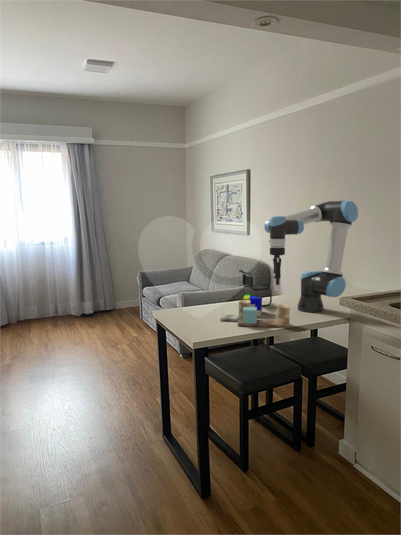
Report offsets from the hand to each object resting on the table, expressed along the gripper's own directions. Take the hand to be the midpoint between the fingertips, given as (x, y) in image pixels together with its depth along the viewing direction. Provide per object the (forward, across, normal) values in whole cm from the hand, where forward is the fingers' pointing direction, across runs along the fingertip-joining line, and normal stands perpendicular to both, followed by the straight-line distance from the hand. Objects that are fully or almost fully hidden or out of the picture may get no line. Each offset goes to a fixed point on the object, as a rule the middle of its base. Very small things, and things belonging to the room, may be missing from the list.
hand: (276, 288), depth 205 cm
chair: (+20, -46, -11) cm, 51 cm away
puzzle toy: (+20, -24, -12) cm, 33 cm away
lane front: (+19, 0, -6) cm, 20 cm away
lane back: (+19, -10, -21) cm, 30 cm away
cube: (+18, 0, -13) cm, 22 cm away
